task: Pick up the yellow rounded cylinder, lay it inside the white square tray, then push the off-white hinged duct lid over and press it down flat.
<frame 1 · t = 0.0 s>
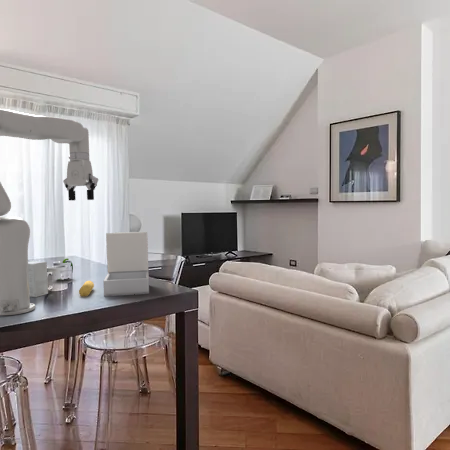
hand: (81, 200, 159), 37 cm above the table, tool pointing down, fingers open, 9 cm apart
white square tray: (127, 290, 159), on the table
small box: (34, 295, 154), on the table
bell pepper: (64, 280, 186), on the table
duct lid: (127, 252, 167), point 14 cm above the table, hinge at 85.7°, touching white square tray
yellow rounded cylinder: (86, 293, 156), on the table
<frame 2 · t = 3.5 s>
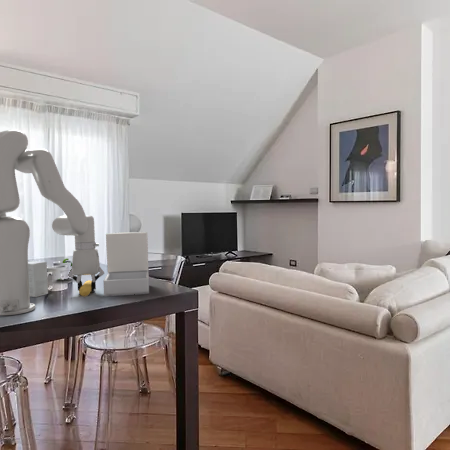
hand: (86, 291, 156), 1 cm above the table, tool pointing down, fingers closed on yellow rounded cylinder, 4 cm apart
duct lid: (127, 252, 167), point 14 cm above the table, hinge at 82.0°, touching white square tray
yellow rounded cylinder: (86, 293, 156), on the table, touching gripper
everything else where it was.
when the fingers open (3 cm above the table, at t = 8.6 s): yellow rounded cylinder drops 1 cm, resting on white square tray.
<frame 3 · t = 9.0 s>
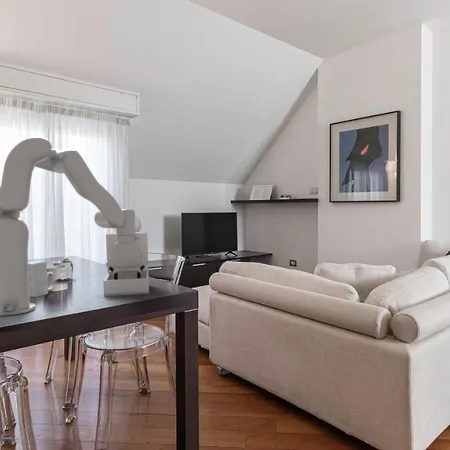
hand: (127, 281, 159), 3 cm above the table, tool pointing down, fingers open, 8 cm apart
yellow rounded cylinder: (127, 288, 159), point 1 cm above the table, touching white square tray
everything else where it was.
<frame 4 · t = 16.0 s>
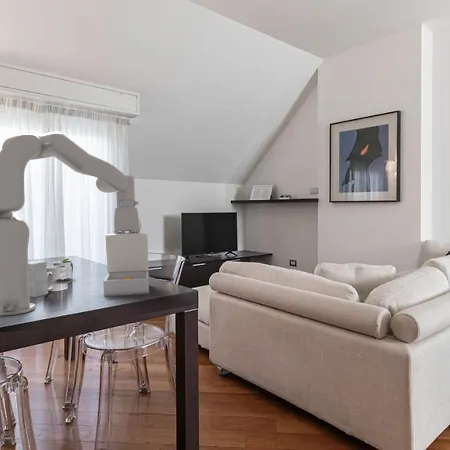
hand: (127, 247, 167), 17 cm above the table, tool pointing down, fingers closed
duct lid: (127, 253, 166), point 14 cm above the table, hinge at 75.7°, touching white square tray, gripper
everything else where it was.
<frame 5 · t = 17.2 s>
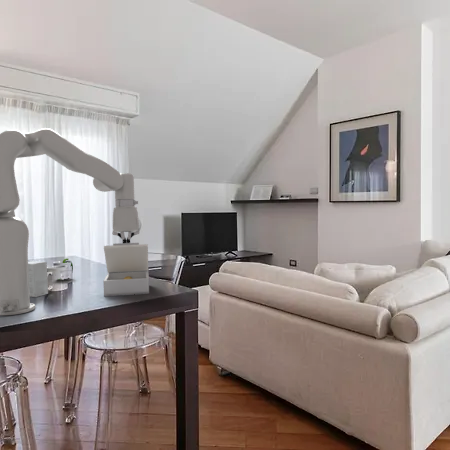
hand: (126, 248, 159), 17 cm above the table, tool pointing down, fingers closed
duct lid: (127, 258, 162), point 13 cm above the table, hinge at 44.8°, touching gripper
everything else where it was.
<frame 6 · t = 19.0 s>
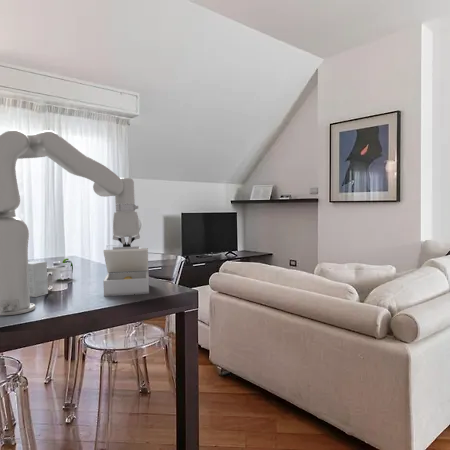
hand: (127, 253, 159), 15 cm above the table, tool pointing down, fingers closed
duct lid: (127, 260, 161), point 12 cm above the table, hinge at 38.0°, touching gripper
everything else where it was.
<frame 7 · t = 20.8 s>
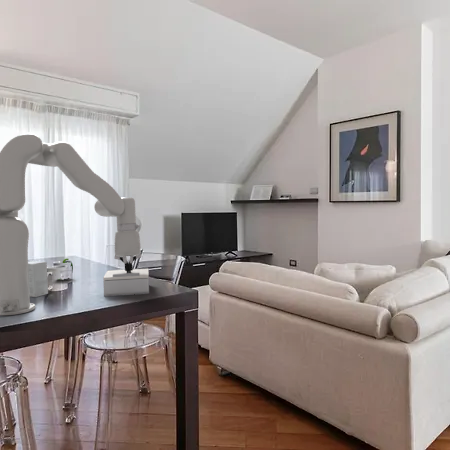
hand: (128, 272, 159), 7 cm above the table, tool pointing down, fingers closed
duct lid: (127, 272, 159), point 7 cm above the table, hinge at 0.2°, touching gripper
everything else where it was.
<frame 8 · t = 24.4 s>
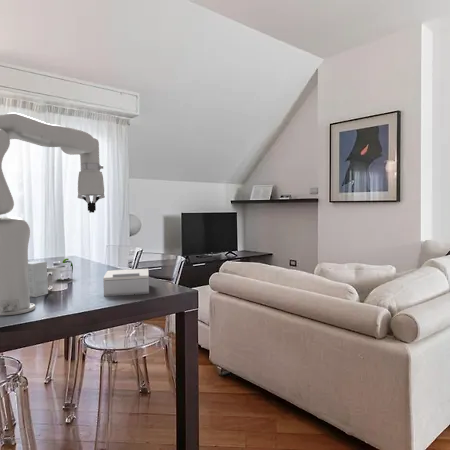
hand: (91, 212, 163), 32 cm above the table, tool pointing down, fingers closed
duct lid: (127, 272, 159), point 7 cm above the table, hinge at -0.1°
everything else where it was.
at the end: yellow rounded cylinder inside the target area on the white square tray (0.2 cm from its centre), point 0.8 cm above the white square tray's base; duct lid at +0° (first picture: +86°) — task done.
